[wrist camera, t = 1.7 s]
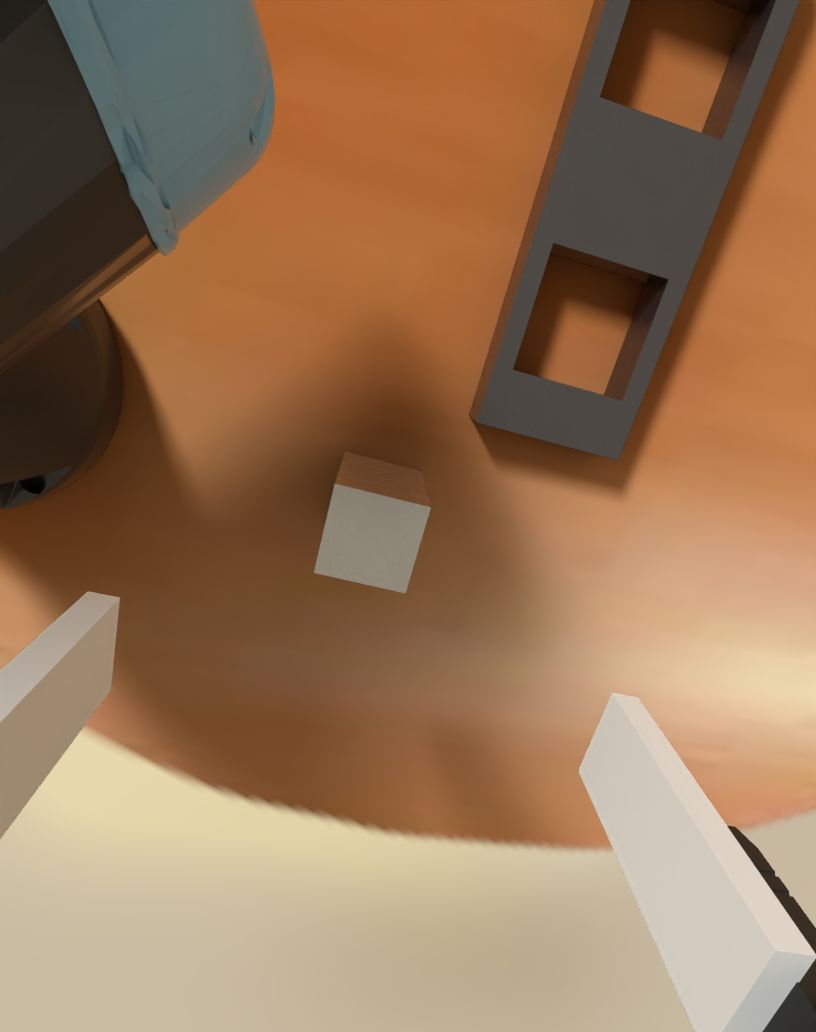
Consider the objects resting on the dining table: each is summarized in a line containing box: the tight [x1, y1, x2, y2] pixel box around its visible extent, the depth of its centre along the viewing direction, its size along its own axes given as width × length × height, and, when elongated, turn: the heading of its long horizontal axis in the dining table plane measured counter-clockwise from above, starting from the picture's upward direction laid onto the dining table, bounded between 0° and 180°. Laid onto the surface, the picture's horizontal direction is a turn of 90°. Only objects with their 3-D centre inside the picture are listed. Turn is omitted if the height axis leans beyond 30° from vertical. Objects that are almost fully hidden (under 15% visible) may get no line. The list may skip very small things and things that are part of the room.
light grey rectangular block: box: [314, 451, 431, 594], centre depth 29 cm, size 4×4×7 cm
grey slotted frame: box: [469, 0, 800, 460], centre depth 27 cm, size 8×24×3 cm, turn 165°
